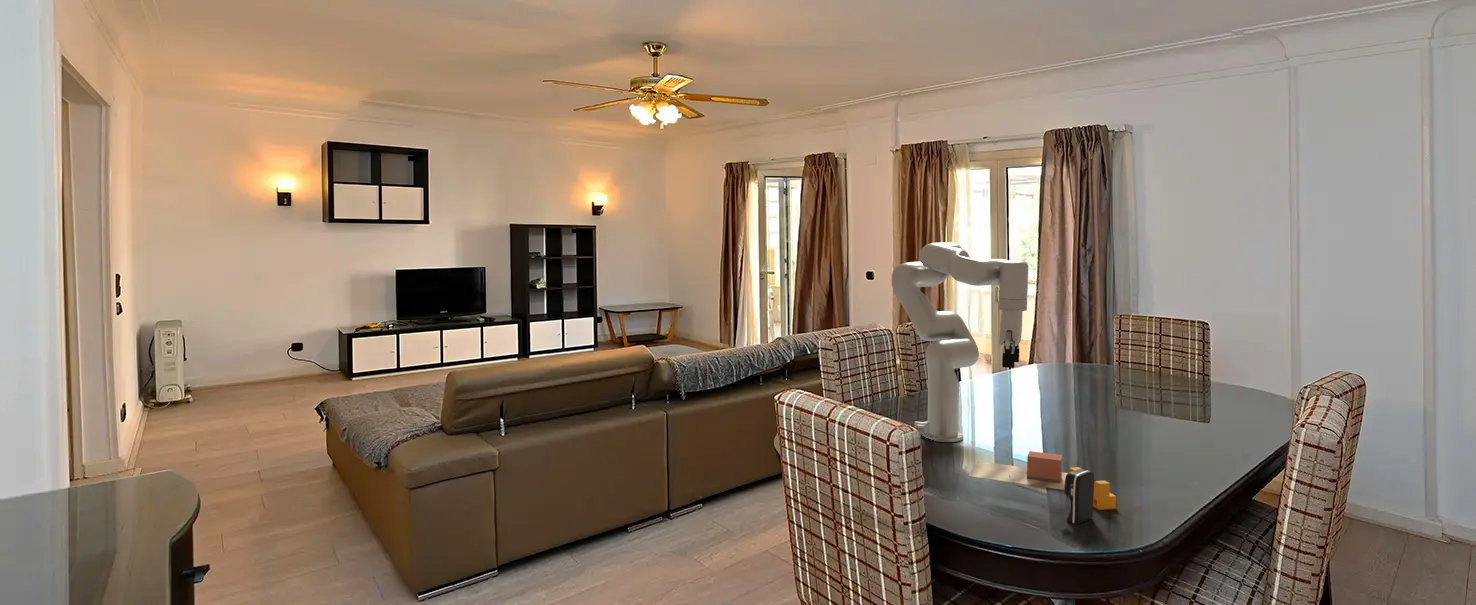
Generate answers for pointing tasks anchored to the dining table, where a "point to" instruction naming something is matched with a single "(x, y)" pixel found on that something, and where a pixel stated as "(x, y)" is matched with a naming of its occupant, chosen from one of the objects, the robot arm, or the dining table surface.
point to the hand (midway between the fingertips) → (1010, 364)
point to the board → (1011, 475)
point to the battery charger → (1080, 495)
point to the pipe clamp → (1101, 494)
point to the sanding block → (1044, 467)
